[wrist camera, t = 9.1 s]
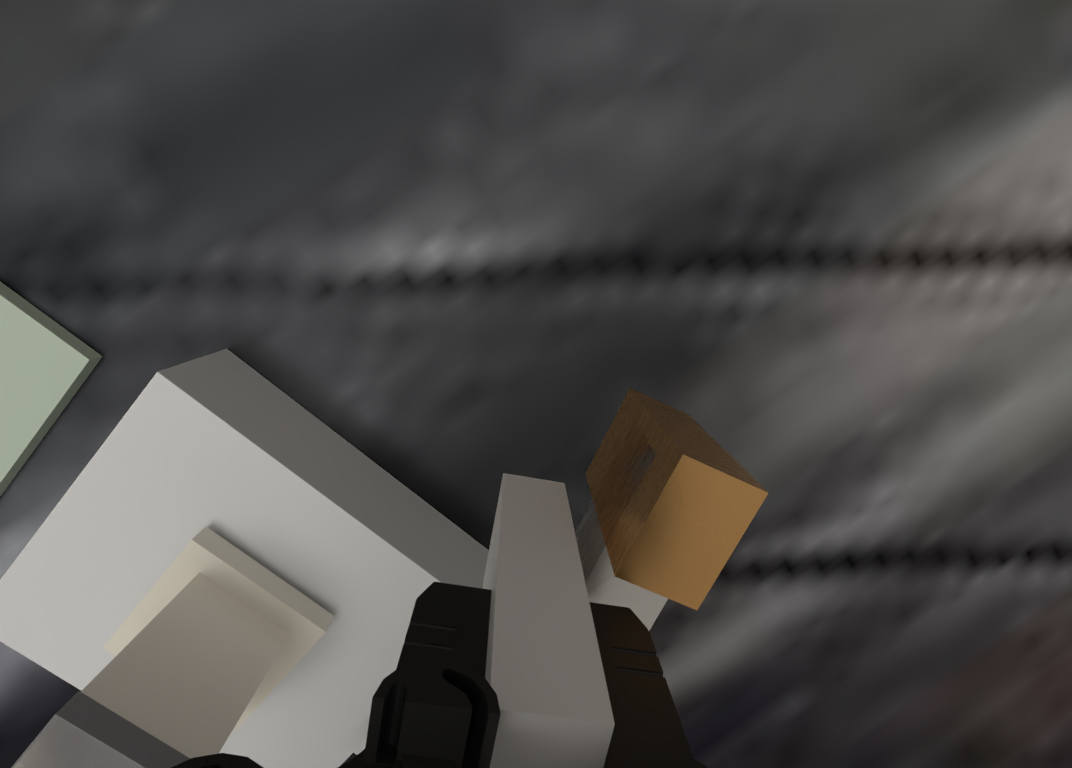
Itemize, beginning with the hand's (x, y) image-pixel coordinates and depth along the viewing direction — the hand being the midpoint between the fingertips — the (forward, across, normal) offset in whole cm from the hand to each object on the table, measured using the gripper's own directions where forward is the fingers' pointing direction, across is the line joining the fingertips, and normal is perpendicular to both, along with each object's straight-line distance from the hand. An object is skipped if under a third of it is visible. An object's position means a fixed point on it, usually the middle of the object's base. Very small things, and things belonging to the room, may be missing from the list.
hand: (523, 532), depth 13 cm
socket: (+14, -9, -12) cm, 20 cm away
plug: (+14, -10, -11) cm, 20 cm away
